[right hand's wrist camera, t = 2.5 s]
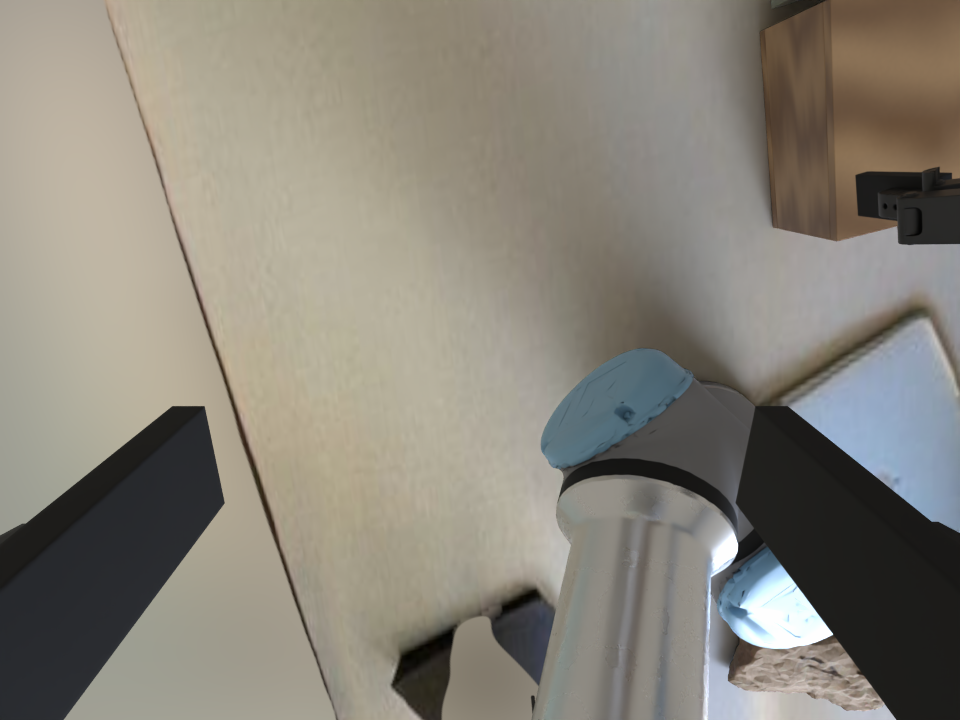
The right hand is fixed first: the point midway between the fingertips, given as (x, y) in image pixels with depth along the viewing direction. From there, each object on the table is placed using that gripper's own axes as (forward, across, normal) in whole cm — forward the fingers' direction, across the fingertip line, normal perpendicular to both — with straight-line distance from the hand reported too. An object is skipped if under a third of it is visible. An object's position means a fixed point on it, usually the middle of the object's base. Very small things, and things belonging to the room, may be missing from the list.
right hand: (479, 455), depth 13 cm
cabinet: (+41, +31, +10) cm, 52 cm away
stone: (+40, +44, -53) cm, 79 cm away
